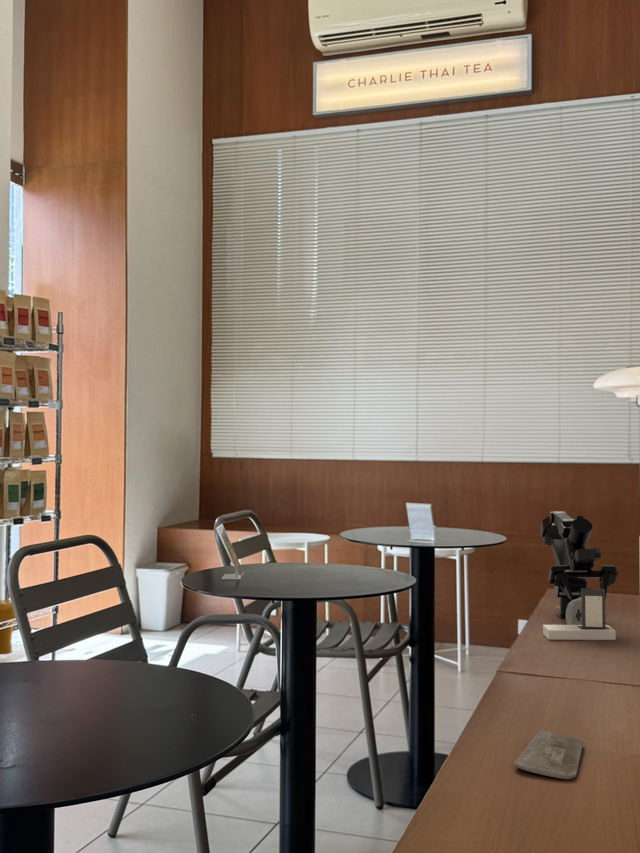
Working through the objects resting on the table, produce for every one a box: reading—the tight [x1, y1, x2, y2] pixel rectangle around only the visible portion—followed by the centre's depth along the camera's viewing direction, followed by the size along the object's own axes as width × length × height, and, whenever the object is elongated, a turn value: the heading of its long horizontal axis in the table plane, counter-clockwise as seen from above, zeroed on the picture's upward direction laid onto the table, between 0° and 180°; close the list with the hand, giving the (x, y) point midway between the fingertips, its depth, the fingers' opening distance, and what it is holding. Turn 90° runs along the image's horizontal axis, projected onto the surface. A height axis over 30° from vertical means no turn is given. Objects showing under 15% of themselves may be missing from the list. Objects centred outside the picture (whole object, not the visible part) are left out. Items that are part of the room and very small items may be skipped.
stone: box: [513, 730, 585, 780], centre depth 146 cm, size 18×3×10 cm
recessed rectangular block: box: [542, 624, 617, 641], centre depth 236 cm, size 7×18×2 cm, turn 87°
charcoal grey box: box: [580, 587, 606, 630], centre depth 236 cm, size 3×6×12 cm, turn 78°
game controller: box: [565, 597, 582, 625], centre depth 251 cm, size 20×2×8 cm, turn 137°
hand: (588, 599), depth 241 cm, fingers open, 9 cm apart
